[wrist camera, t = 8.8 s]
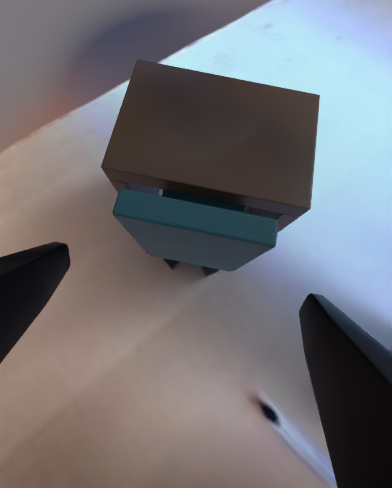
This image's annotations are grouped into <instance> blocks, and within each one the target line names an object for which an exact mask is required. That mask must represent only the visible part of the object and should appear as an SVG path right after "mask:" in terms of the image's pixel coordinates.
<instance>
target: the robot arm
mask: <svg viewBox="0 0 392 488" xmlns="http://www.w3.org/2000/svg"><path fill="white" fill-rule="evenodd" d="M69 267H70V255H69V248H68V245H67V244H65V243H61V242H51V243H48V244H44V245H41V246H38V247H34V248H31V249H27V250H24V251H20V252H17V253H13V254H10V255H6V256H3V257H0V363H1V362H2V361H3V359H4V358H5V357H6V356H7V354H8V353H9V352H10V350H11V349H12V348H13V347H14V345H15V344H16V343H17V341H18V340H19V339H20V338H21V336H22V335H23V334H24V332H25V331H26V330H27V329H28V327H29V326H30V325H31V323H32V322H33V321H34V319H35V318H36V317H37V316H38V314H39V313H40V312H41V310H42V309H43V308H44V307H45V305H46V304H47V302H48V301H49V299H50V298H51V296H52V295H53V293H54V292H55V290H56V288H57V287H58V285H59V284H60V282H61V280H62V279H63V277H64V275H65V274H66V272H67V271H68V269H69ZM299 317H300V325H301V332H302V339H303V347H304V353H305V358H306V362H307V366H308V370H309V374H310V378H311V382H312V386H313V390H314V394H315V398H316V402H317V406H318V410H319V414H320V418H321V422H322V426H323V430H324V434H325V438H326V443H327V447H328V451H329V455H330V459H331V463H332V467H333V471H334V475H335V479H336V483H337V487H338V488H392V353H391V352H389V351H388V350H387V349H386V348H385V347H383V346H382V345H381V344H380V343H379V342H377V341H376V340H375V339H374V338H373V337H371V336H370V335H369V334H368V333H367V332H366V331H364V330H363V329H362V328H361V327H360V326H358V325H357V324H356V323H355V322H354V321H352V320H351V319H350V318H349V317H348V316H346V315H345V314H344V313H343V312H342V311H340V310H339V309H338V308H337V307H336V306H334V305H333V304H332V303H331V302H330V301H328V300H327V299H326V298H325V297H324V296H322V295H318V294H313V293H310V294H309V295H308V296H307V297H306V299H305V301H304V303H303V304H302V306H301V308H300V311H299Z"/></svg>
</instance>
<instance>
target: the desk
mask: <svg viewBox="0 0 392 488" xmlns="http://www.w3.org/2000/svg"><path fill="white" fill-rule="evenodd" d="M319 98H320V96H319V95H316V94H311V93H306V92H301V91H296V90H291V89H286V88H281V87H276V86H270V85H265V84H260V83H255V82H250V81H245V80H240V79H235V78H230V77H224V76H219V75H214V74H209V73H204V72H199V71H194V70H189V69H184V68H178V67H173V66H168V65H163V64H158V63H153V62H148V61H143V60H137V61H136V64H135V67H134V70H133V73H132V76H131V79H130V82H129V85H128V88H127V91H126V94H125V97H124V100H123V103H122V106H121V109H120V112H119V115H118V118H117V121H116V124H115V126H114V129H113V132H112V135H111V138H110V141H109V144H108V147H107V150H106V153H105V156H104V159H103V162H102V165H101V168H102V169H103V171H104V173H105V174H106V176H107V177H108V178H109V180H110V182H111V183H112V185H113V186H114V188H115V189H116V191H117V192H118V193H119V190H120V189H127V190H132V191H137V192H142V193H147V194H152V195H157V196H158V192H159V189H163V190H168V191H173V192H178V193H183V194H188V195H193V196H198V197H203V198H208V199H213V200H218V201H223V202H228V203H233V204H238V205H243V206H248V207H251V209H250V214H251V215H256V216H261V217H266V218H271V219H276V220H278V230H277V233H278V232H279V231H281V230H282V229H283V228H285V227H286V226H288V225H289V224H290V223H292V222H293V221H295V220H296V219H297V218H299V217H300V216H301V215H303V214H304V213H305V212H307V211H308V210H310V208H311V197H312V184H313V172H314V160H315V147H316V135H317V123H318V111H319Z"/></svg>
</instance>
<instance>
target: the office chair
mask: <svg viewBox="0 0 392 488" xmlns="http://www.w3.org/2000/svg"><path fill="white" fill-rule="evenodd" d="M243 209H244V206H243V205H238V204H233V203H228V202H223V201H218V200H213V199H208V198H203V197H198V196H193V195H188V194H183V193H178V192H173V191H168V190H163V194H162V196H157V195H152V194H147V193H142V192H137V191H132V190H127V189H120V190H119V193H118V196H117V200H116V203H115V206H114V209H113V215H114V216H115V217H116V218H117V219H118V221H119V222H120V223H121V224H122V225H123V226H124V227H125V229H126V230H127V231H128V232H129V233H130V234H131V235H132V236H133V238H134V239H135V240H136V241H137V242H138V243H139V244H140V246H141V247H142V248H143V249H144V250H145V251H146V252H147V253H148V254H150V255H151V256H155V257H160V258H163V260H164V261H165V262H166V263H167V264H168V266H169V267H170V268H171V269H172V270H173V269H175V268H176V267H177V266H178V265H179V264H180V263H181V262H185V263H190V264H194V265H199V266H201V267H202V269H203V272H204V274H205V276H206V277H207V276H209V275H211V274H214V273H216V272H218V271H219V270H224V271H229V272H230V271H234V270H236V269H238V268H239V267H241V266H243V265H245V264H246V263H248V262H250V261H251V260H253V259H255V258H257V257H258V256H260V255H262V254H263V253H265V252H267V251H269V250H270V249H272V248H274V247H275V245H276V239H277V230H278V220H276V219H271V218H266V217H261V216H256V215H251V214H246V213H243Z"/></svg>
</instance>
